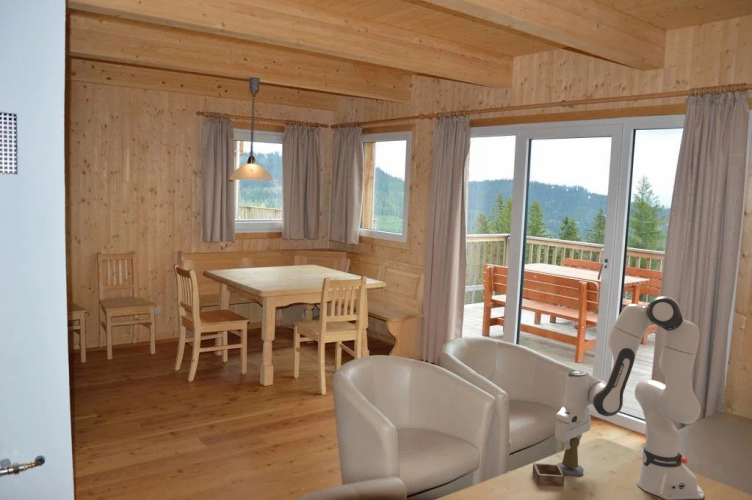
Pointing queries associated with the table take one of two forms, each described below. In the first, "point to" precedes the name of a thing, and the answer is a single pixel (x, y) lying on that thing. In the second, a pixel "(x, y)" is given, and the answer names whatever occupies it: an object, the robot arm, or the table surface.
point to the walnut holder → (548, 474)
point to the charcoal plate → (571, 470)
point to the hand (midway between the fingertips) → (572, 446)
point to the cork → (571, 454)
